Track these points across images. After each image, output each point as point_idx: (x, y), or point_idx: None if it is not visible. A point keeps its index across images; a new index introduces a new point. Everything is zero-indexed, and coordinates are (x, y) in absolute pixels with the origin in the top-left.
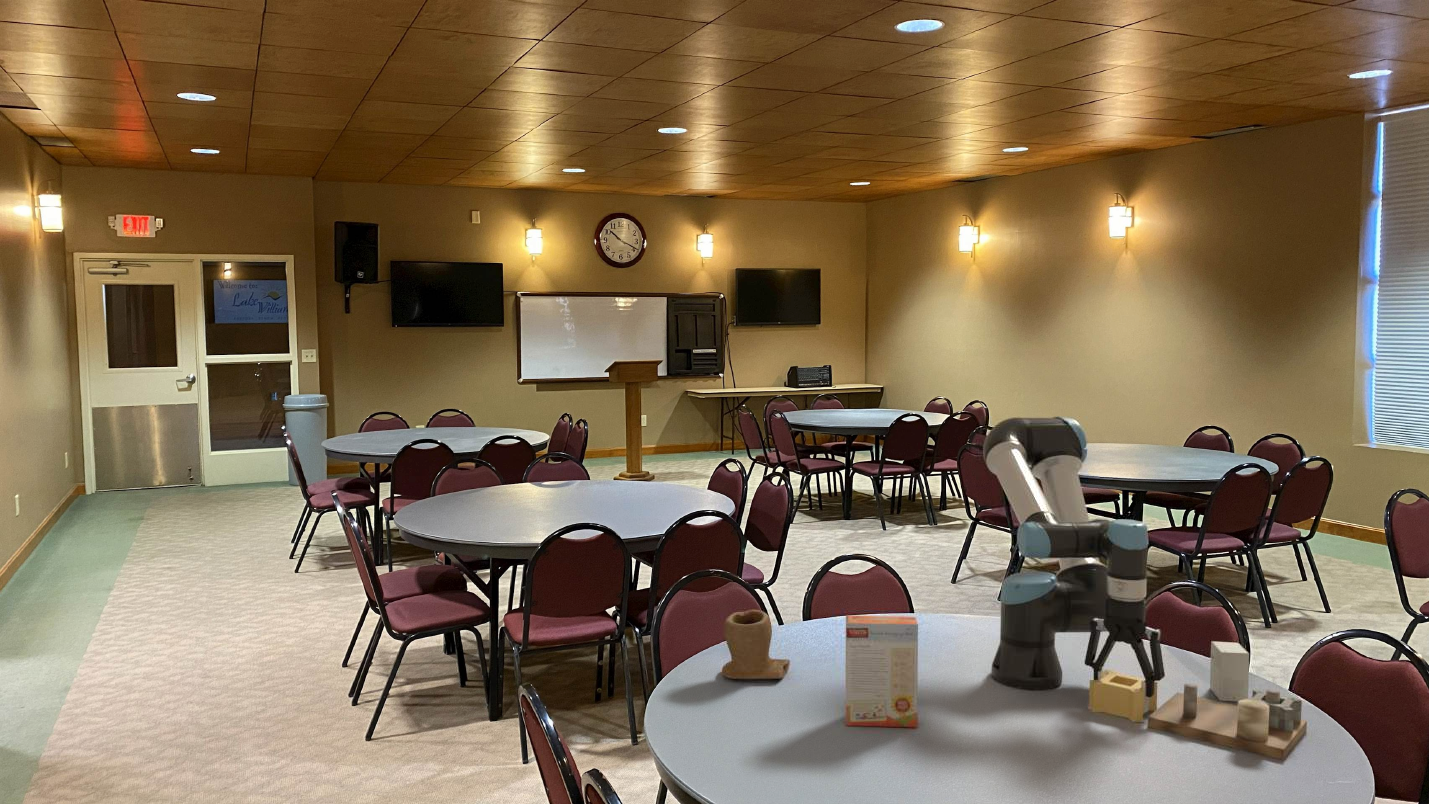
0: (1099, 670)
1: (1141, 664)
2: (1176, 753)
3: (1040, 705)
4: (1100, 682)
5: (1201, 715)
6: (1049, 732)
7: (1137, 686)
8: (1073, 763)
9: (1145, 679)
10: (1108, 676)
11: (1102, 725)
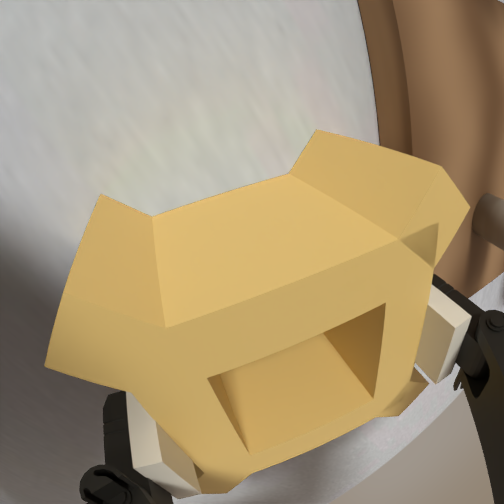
0: (169, 495)
1: (494, 451)
2: None
3: (76, 453)
4: (234, 477)
5: (500, 181)
6: None
7: (399, 372)
8: (324, 482)
9: (460, 379)
10: (186, 423)
11: None
